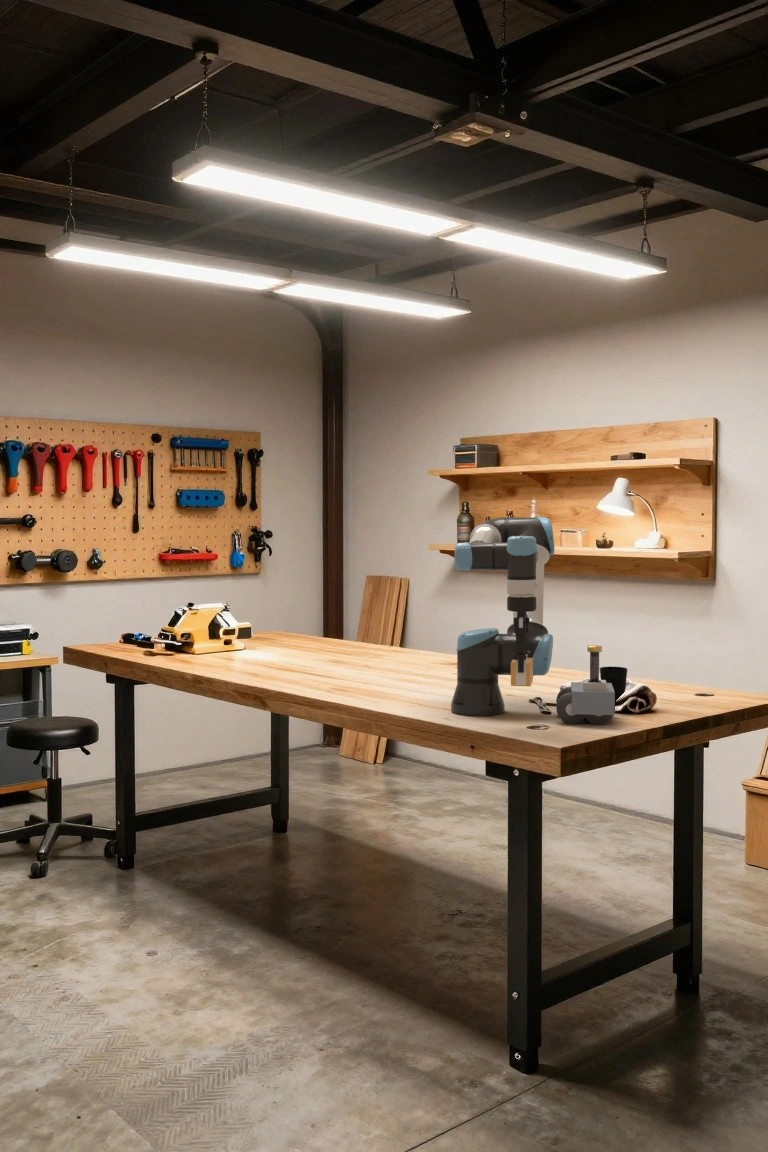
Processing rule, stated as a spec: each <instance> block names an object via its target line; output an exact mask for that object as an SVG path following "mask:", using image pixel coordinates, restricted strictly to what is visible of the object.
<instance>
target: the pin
mask: <svg viewBox="0 0 768 1152" xmlns="http://www.w3.org/2000/svg"><path fill="white" fill-rule="evenodd" d="M586 651H587V652H588V653H589V680H590V682H594V683H599V680H600V653H602V652H603V646H602V645H595V644H592V645H591V644H589V645H587V650H586Z"/></svg>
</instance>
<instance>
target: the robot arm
mask: <svg viewBox="0 0 768 1152" xmlns="http://www.w3.org/2000/svg"><path fill="white" fill-rule="evenodd" d="M454 546H455V547H454V566H455V568H456V570H458V571H466V572H470V571H507V574H506V575H507V576H506V577H507V579H506V594H507V595H508V596H507V598H506V609H507V611H509V612H512V623H511V624H510V625H509V626H508V628H507V630H506V633H500V631H499V629H498V628H495V627H493V628H491V627H489V628H480V629H473V630H468V631H467V630H466V631H464V632H461V633H460V634H459V635H458V636H457V645H456V650H455V651H456V652H457V653H456V654H457V656H456V659H457V661H456V663H457V666H456V668H457V669H456V671H457V672H456V673H457V675H456V676H457V678H456V687H455V690H454V693H453V696H452V700H451V703H450V710H451V712H452V713H454V714H457V713H458V714H457V715H465V716H480V717H481V716H482V717H483V716H494V715H499V714H503V713H505V709H506V708H505V701H504V698H503V695H502V692H501V688H500V686H499V676H511V661H512V660H516V685H526V658H533V677H534V676H544V675H545V676H546V675H547V674H548V673H549V671H550V668H551V662H552V656H553V647H554V636H553V635H552V634H550V633H549V630H548V628H547V626H545V625H544V593H545V590H544V589H545V584H544V583H545V565H546V564H547V563H548V561H549V560H550V557H551V556H554V555H555V539H554V530H553V524H552V520H550V518H548V517H541V516H534V517H530V516H529V517H519V516H518V517H516V516H514V517H513V516H512V517H509V516H508V517H507V516H506V517H505V516H504V517H503V516H502V517H496V518H495V517H494V518H491V519H488V520H485V521H483V522H481V523H479V524H478V525H476V526H475V527H474V528H473V529H472V531H471V532H470V535H469V542H467V541H464V542H458V543H456V544H455V545H454Z"/></svg>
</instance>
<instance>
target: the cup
mask: <svg viewBox="0 0 768 1152" xmlns="http://www.w3.org/2000/svg"><path fill="white" fill-rule="evenodd" d="M627 676H628V668H627V667H623V666H602V667H601V666H600V667H599V679H600V680H606V683H612V686H613V689H614V692H615V702H616V700H617V699H618V698H619V697H620V696H621V695H622V694H623V693H624V692H625V693H626V688H627V687H626V686H627V679H628V678H627ZM615 704H616V703H615Z"/></svg>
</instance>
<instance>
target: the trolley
mask: <svg viewBox="0 0 768 1152" xmlns="http://www.w3.org/2000/svg"><path fill="white" fill-rule="evenodd" d="M555 707H556V714H557V716H558V718H559V719H560V721H561V722H563V723H565V724H568V725H576V724H579V723H581V722H582V721H583V720H585V719H586V720H587V721H588V722H589V723H591V724H592V725H595V726H602V725H606V724H607V723H609V722H610V721H611V720H612V719H613V717H614V716H615V713H616V712H615V692H614V689H613V686H612V683H606V680H601V679H599V683H594V682H590V679H582V682H579V681H576V682H574V681H573V682H570V686H566V687H564V688H562V689H561V690H560V691H559V692H558V693H557V695H556V706H555Z"/></svg>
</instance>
